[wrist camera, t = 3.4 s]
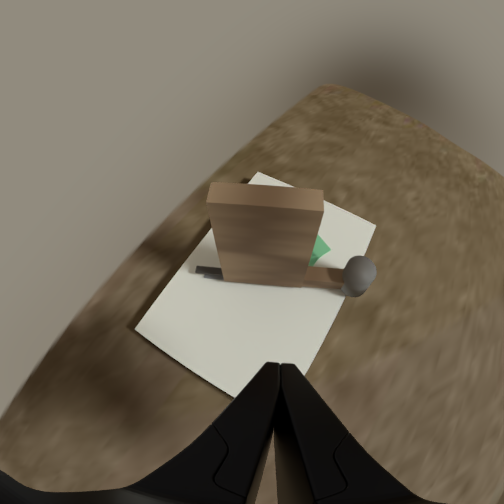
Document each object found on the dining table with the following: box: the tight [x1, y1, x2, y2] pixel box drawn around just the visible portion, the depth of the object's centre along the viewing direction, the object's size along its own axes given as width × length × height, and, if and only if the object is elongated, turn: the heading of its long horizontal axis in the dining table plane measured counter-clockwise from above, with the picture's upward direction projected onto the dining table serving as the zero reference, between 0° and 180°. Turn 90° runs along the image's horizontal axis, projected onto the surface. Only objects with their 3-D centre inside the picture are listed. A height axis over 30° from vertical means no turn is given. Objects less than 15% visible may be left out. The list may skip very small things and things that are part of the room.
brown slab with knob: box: [195, 182, 376, 297], centre depth 16 cm, size 12×2×8 cm, turn 84°
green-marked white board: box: [135, 172, 376, 398], centre depth 21 cm, size 11×16×1 cm
